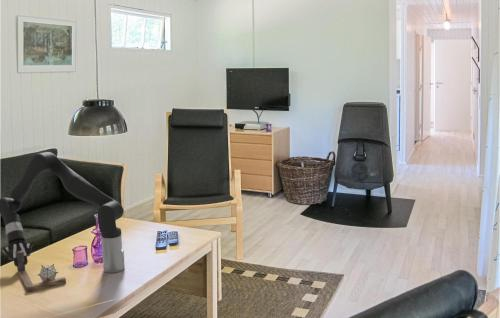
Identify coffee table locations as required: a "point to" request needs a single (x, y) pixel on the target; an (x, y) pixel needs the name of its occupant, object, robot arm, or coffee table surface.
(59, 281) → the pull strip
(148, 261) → the coffee table surface
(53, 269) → the grey spiky ball
